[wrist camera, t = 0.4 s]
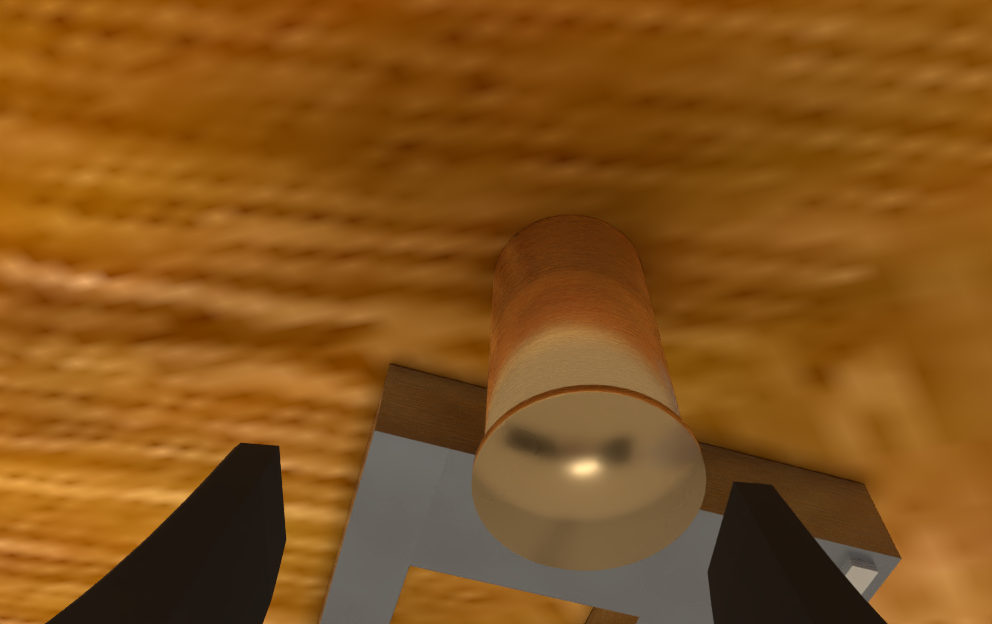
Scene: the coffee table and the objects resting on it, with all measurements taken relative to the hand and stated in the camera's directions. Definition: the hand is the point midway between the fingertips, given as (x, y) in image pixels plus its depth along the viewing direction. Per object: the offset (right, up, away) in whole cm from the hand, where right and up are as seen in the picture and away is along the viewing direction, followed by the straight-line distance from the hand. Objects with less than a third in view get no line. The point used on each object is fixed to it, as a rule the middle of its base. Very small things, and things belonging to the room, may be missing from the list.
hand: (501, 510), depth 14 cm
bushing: (+2, +4, +9) cm, 10 cm away
